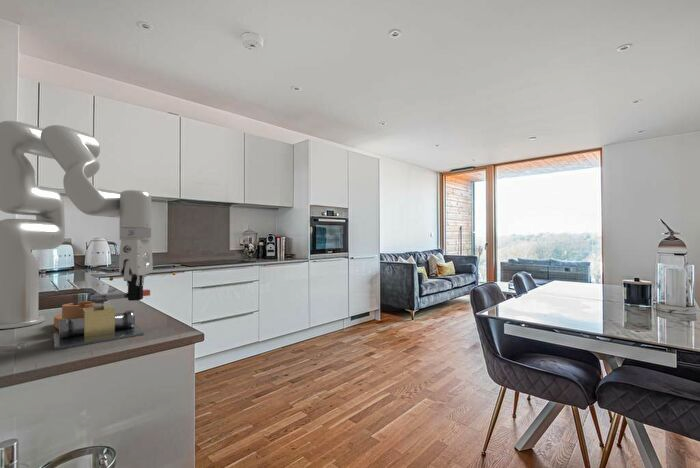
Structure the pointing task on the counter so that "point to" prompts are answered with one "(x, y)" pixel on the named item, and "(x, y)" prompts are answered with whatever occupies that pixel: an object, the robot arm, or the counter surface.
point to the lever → (113, 296)
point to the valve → (96, 327)
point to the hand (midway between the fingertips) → (135, 299)
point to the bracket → (72, 311)
